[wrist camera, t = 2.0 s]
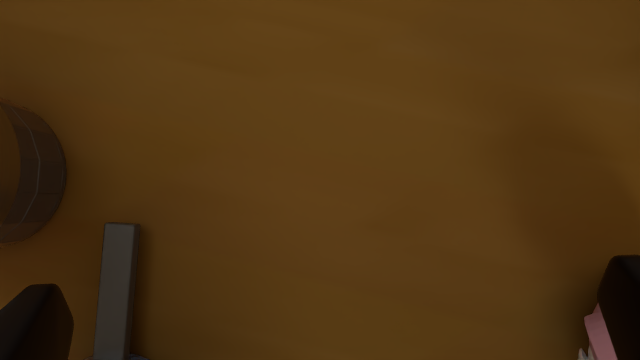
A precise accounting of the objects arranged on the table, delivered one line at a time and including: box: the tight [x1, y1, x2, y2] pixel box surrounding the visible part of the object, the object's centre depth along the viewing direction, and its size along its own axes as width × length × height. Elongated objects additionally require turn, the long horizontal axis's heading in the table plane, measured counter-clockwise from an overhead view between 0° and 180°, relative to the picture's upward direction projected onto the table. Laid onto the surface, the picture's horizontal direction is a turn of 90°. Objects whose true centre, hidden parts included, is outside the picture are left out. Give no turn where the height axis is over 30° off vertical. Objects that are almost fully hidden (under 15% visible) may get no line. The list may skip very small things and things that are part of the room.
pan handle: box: [93, 222, 140, 360], centre depth 22 cm, size 6×1×1 cm, turn 176°
